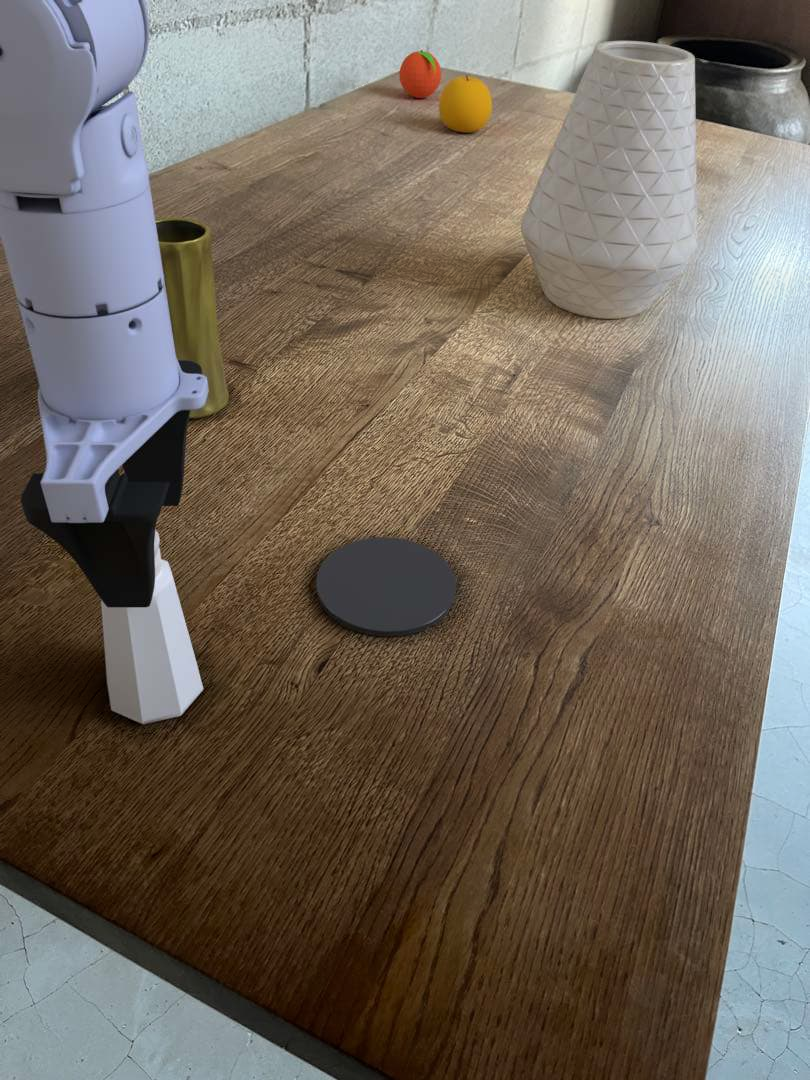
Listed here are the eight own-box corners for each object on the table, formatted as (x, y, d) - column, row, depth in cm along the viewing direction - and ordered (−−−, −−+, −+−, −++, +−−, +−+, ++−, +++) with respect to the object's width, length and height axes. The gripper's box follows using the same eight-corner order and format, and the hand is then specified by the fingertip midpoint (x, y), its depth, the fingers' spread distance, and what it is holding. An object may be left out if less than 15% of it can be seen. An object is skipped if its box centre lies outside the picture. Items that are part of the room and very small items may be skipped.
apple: (463, 140, 136) (468, 85, 131) (426, 127, 140) (430, 73, 135) (499, 132, 140) (506, 78, 135) (463, 119, 144) (468, 67, 140)
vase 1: (223, 422, 73) (208, 248, 64) (145, 418, 73) (120, 243, 64) (233, 383, 78) (221, 216, 69) (160, 380, 78) (139, 212, 69)
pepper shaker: (120, 649, 54) (90, 499, 47) (213, 656, 54) (196, 506, 47) (92, 722, 50) (54, 569, 43) (193, 729, 50) (171, 577, 43)
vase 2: (590, 349, 86) (644, 83, 72) (479, 279, 97) (506, 36, 83) (715, 312, 94) (787, 66, 80) (600, 252, 105) (644, 25, 91)
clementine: (451, 102, 152) (455, 55, 147) (415, 106, 149) (418, 58, 144) (424, 90, 157) (428, 44, 153) (390, 94, 154) (392, 46, 150)
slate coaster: (311, 634, 56) (311, 629, 55) (319, 540, 63) (319, 534, 62) (459, 638, 56) (460, 633, 56) (451, 544, 63) (452, 539, 63)
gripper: (158, 377, 31) (205, 656, 40) (217, 222, 42) (244, 465, 51) (-53, 376, 31) (40, 656, 40) (63, 220, 42) (116, 465, 51)
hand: (145, 549), depth 45 cm, fingers open, 7 cm apart
